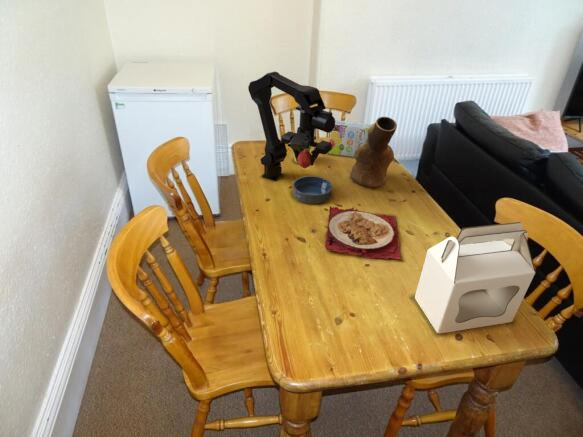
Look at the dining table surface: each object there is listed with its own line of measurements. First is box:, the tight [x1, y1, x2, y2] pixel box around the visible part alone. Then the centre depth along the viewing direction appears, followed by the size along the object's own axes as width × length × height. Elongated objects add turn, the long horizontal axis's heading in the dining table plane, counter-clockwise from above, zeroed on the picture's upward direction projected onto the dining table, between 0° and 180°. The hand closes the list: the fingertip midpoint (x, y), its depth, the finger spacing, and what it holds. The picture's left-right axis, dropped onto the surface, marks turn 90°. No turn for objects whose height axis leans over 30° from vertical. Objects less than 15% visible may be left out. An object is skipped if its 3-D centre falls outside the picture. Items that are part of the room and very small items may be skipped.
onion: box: [297, 149, 312, 170], centre depth 154 cm, size 6×6×8 cm
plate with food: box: [324, 202, 402, 260], centre depth 139 cm, size 24×26×4 cm
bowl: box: [292, 175, 333, 205], centre depth 160 cm, size 15×15×4 cm
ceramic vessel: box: [350, 116, 398, 189], centre depth 161 cm, size 16×22×30 cm
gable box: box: [414, 221, 536, 334], centre depth 104 cm, size 22×13×28 cm, turn 102°
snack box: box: [328, 119, 373, 158], centre depth 188 cm, size 21×6×15 cm, turn 77°
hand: (304, 163), depth 156 cm, fingers closed on onion, 6 cm apart
